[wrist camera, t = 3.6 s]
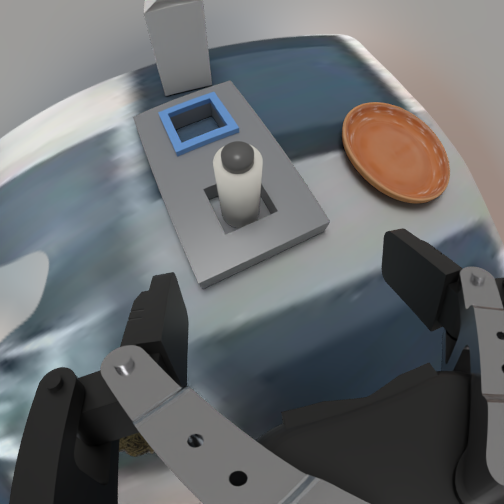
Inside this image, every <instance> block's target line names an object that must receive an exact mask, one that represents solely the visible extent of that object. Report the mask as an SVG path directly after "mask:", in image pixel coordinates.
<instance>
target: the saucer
mask: <svg viewBox="0 0 504 504" xmlns="http://www.w3.org/2000/svg"><path fill="white" fill-rule="evenodd" d="M342 141H343V145H344V149H345V151H346V154H347V156H348V158H349V159H350V161H351V163H352V164H353V166H354V167H355V168H356V170H357V171H358V172H359V173H360V174H361V175H362V176H363V178H364V179H366V180H367V181H368V182H369V183H370V184H371V185H372V186H374V187H375V188H376V189H378V190H379V191H381V192H382V193H384V194H386V195H388V196H390V197H392V198H394V199H397V200H399V201H403V202H408V203H425V202H429V201H431V200H433V199H435V198H437V197H438V196H440V195H441V194H442V193H443V192H444V190H445V189H446V187H447V185H448V182H449V177H450V166H449V161H448V157H447V154H446V152H445V149H444V147H443V145H442V143H441V142H440V140H439V139H438V137H437V136H436V135H435V133H434V132H433V131H432V130H431V129H430V128H429V127H428V126H427V125H426V124H425V123H424V122H423V121H422V120H420V119H419V118H418V117H416V116H415V115H413V114H412V113H410V112H408V111H406V110H404V109H402V108H400V107H397V106H394V105H391V104H386V103H378V102H372V103H365V104H361V105H359V106H357V107H355V108H353V109H352V110H351V111H350V112H349V113H348V114H347V116H346V117H345V120H344V122H343V128H342Z"/></svg>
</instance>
